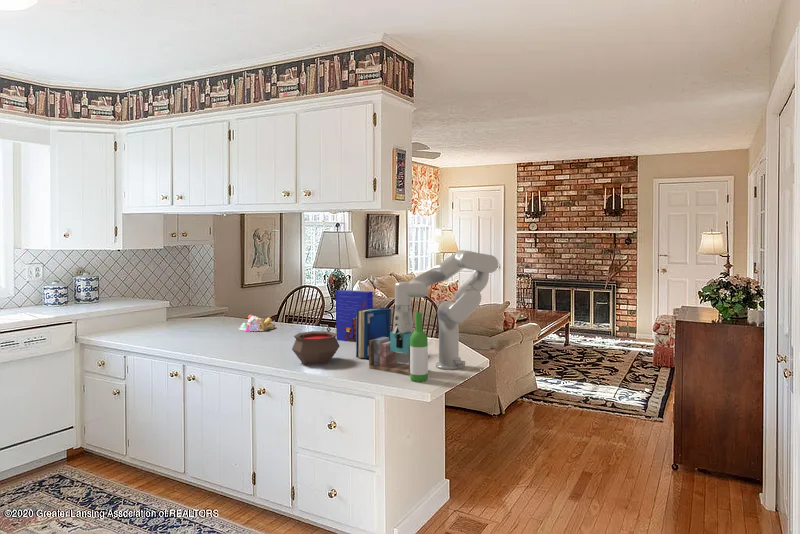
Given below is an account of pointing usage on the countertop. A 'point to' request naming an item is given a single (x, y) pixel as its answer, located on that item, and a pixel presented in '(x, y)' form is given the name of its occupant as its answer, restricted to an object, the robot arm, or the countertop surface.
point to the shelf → (385, 357)
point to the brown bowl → (315, 347)
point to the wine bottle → (418, 352)
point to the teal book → (406, 342)
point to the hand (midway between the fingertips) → (402, 346)
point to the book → (371, 328)
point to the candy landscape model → (257, 324)
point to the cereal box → (350, 312)
